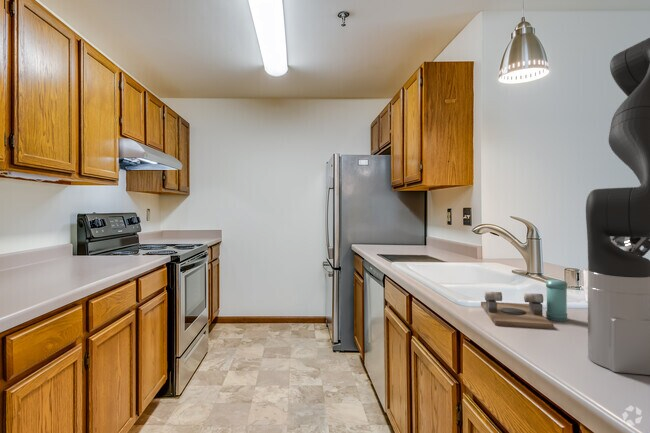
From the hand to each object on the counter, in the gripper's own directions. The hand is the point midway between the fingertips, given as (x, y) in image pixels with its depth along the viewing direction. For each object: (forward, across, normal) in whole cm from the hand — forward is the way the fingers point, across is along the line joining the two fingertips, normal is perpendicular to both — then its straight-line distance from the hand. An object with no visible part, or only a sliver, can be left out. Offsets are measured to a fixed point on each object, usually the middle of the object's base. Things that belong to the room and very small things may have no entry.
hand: (603, 261), depth 89 cm
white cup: (+6, -16, +18) cm, 25 cm away
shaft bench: (+26, -1, -6) cm, 27 cm away
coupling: (+19, 0, +2) cm, 19 cm away
